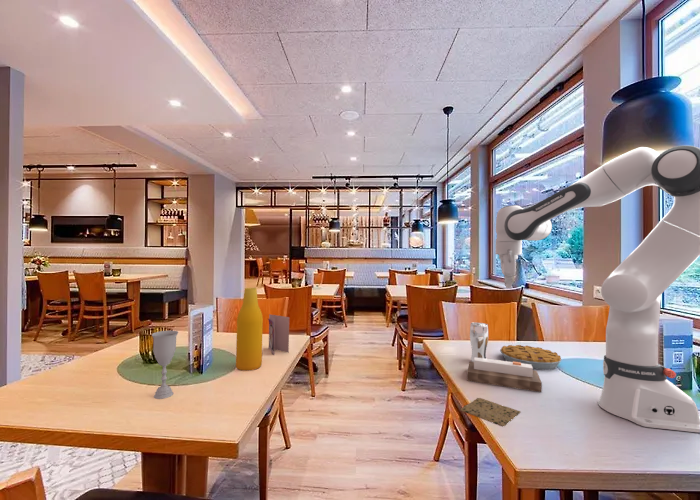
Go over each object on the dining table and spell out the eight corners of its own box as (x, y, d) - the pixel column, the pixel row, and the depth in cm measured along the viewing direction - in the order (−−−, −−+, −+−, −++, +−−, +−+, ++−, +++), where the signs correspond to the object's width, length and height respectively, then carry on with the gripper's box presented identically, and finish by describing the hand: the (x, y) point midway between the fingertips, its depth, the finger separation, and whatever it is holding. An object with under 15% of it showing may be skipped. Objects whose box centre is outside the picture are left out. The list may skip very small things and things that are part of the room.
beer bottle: (230, 369, 118) (232, 288, 119) (244, 361, 127) (246, 286, 128) (253, 372, 116) (255, 289, 116) (266, 363, 125) (268, 287, 125)
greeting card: (266, 348, 145) (267, 314, 145) (283, 346, 148) (284, 313, 149) (271, 355, 135) (272, 319, 135) (289, 353, 138) (290, 318, 138)
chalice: (152, 391, 98) (154, 331, 99) (178, 388, 101) (179, 329, 101) (147, 402, 92) (149, 337, 92) (174, 398, 94) (176, 335, 94)
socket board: (536, 379, 114) (536, 370, 114) (541, 392, 103) (541, 382, 103) (469, 369, 123) (469, 361, 123) (467, 380, 112) (467, 371, 112)
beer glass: (484, 359, 136) (485, 322, 136) (490, 364, 129) (490, 326, 129) (467, 358, 136) (468, 322, 137) (472, 363, 129) (472, 325, 130)
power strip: (531, 380, 111) (531, 362, 111) (532, 385, 108) (532, 366, 108) (474, 372, 118) (474, 355, 118) (473, 376, 115) (474, 358, 115)
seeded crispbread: (521, 413, 90) (521, 409, 90) (503, 428, 82) (503, 424, 82) (479, 398, 99) (479, 395, 99) (459, 411, 90) (459, 407, 90)
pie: (572, 373, 121) (572, 360, 121) (509, 369, 125) (509, 356, 125) (547, 356, 142) (547, 344, 143) (493, 352, 146) (494, 341, 146)
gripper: (520, 249, 111) (519, 290, 111) (515, 250, 130) (515, 285, 130) (499, 249, 114) (499, 289, 113) (498, 250, 132) (498, 284, 132)
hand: (508, 287), depth 122 cm, fingers open, 8 cm apart
